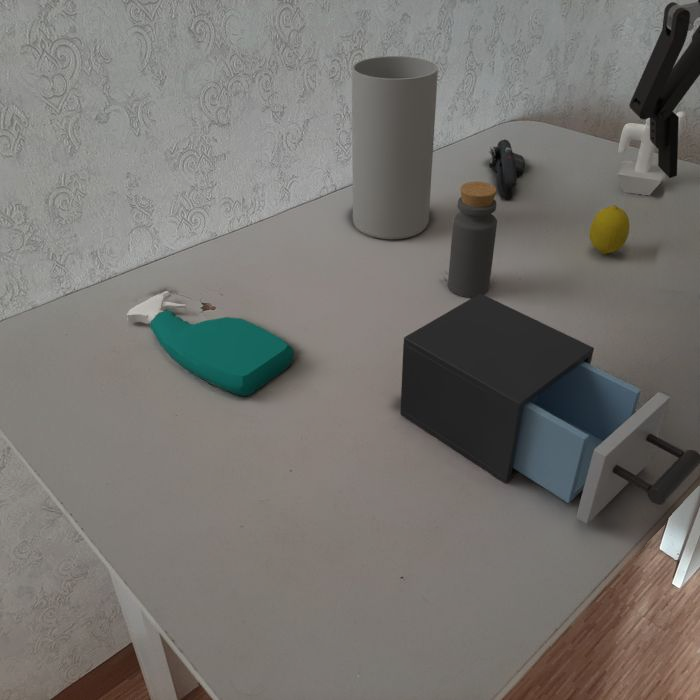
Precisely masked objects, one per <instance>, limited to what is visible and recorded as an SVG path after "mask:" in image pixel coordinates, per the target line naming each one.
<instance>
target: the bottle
mask: <svg viewBox="0 0 700 700" xmlns="http://www.w3.org/2000/svg"><path fill="white" fill-rule="evenodd" d="M459 189H460V197H459V198H458V200H457V205H456V206H457V209H458V211H459V212H457V214H455V215H454V217H453V220H452V221H453V222H452V231H451V241H450V242H451V243H450V256H449V266H448V279H447V287H448V290H449V291H450V292H451V293H453V294H455V295H457V296H459V297H464V298H473V297H475V296H476V295H478V294H483V295H485V294H487V293H488V291H489V288H490V282H491V276H492V268H493V260H494V252H495V244H496V235H497V226H498V220H497V218H496V216H495V215H494V213H495V212H496V210H497V204H498V203H497V200H496V199H495V197H496V195H497V191H498V189H497V188H496V186H494V184H491V183H489V182H484V181H469V182H466V183H463V184H462V185H461V186H460V188H459Z"/></svg>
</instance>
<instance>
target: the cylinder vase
mask: <svg viewBox="0 0 700 700" xmlns="http://www.w3.org/2000/svg"><path fill="white" fill-rule="evenodd" d="M438 73H439V66H438V65H437V63H435V62H433V61H430V60H428V59H424V58H420V57H413V56H404V55H386V56H385V55H384V56H375V57H369V58H364V59H361V60H359V61H356V62H354V63H353V64H352V65H351V144H352V145H351V146H352V147H351V148H352V151H351V152H352V153H351V154H352V155H351V156H352V163H351V164H352V171H351V172H352V222H353V225H354V227H355V228H356V229H357V230H358V231H359V232H360V233H362V234H364V235H366V236H368V237H371V238H376V239H379V240H380V239H381V240H402V239H407V238H412V237H414V236H416V235H419V234H421V233H422V232H423V231H424V230H425V229H426V228H427V227H428V225H429V220H430V206H431V205H430V203H431V189H432V175H433V174H432V173H433V172H432V171H433V157H434V155H433V154H434V138H435V123H436V107H437V93H438V92H437V91H438V90H437V89H438V76H439V74H438Z"/></svg>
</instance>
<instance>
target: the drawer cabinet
mask: <svg viewBox="0 0 700 700" xmlns="http://www.w3.org/2000/svg"><path fill="white" fill-rule="evenodd" d="M402 346H403V347H402V366H401V367H402V369H401V371H402V372H401V388H400V389H401V390H400V391H401V392H400V413H399V414H400V416H402V417H404V418H405V419H406V420H408V421H410V422H411V423H413V424H414V425H416V426H417V427H418V428H420V429H422V430H423V431H425V432H426V433H428V434H429V435H431V436H432V437H434V438H435V439H437V440H438V441H439V442H441V443H443V444H444V445H446V446H447V447H449V448H450V449H451V450H454V451H455V452H456V453H458V454H459V455H461V457H464V458H465V459H467V460H469V461H470V462H472V463H473V464H474V465H476V466H477V467H478V468H481V469H482V470H484V471H485V472H487V473H488V474H490V475H491V476H493V477H494V478H496V479H497V480H499V481H500V482H502V483H503V484H505V485H507V484H508V483H509V482H511V480H513V479H514V478H515V477H517V475H518V474H521V473H520V472H519V471H517V470H516V469H514V468H513V464H514V458H515V452H516V447H517V441H518V436H519V430H520V424H521V419H522V413H523V406H525V405H526V404H527V403H529V402H530V401H531V400H533V399H534V398H535V397H536V396H538V395H539V394H540V393H542V392H543V391H544V390H546V389H547V388H548V387H550V386H551V385H552V384H554V383H555V382H556V381H558V380H559V379H560V378H562V377H563V376H564V375H566V374H567V373H568V372H569V371H571V370H572V369H573V368H575V367H576V366H577V365H579V364H580V363H581V362H583V361H584V362H586V363H588V364H590V365H591V363H592V359H593V355H594V351H595V348H594V347H593V346H591V345H589V344H587V343H585V342H582V341H581V340H579V339H576V338H574V337H572V336H571V335H568V334H567V333H564V332H562V331H561V330H558V329H555V328H553V327H551V326H549V325H548V324H546V323H543V322H541V321H539V320H537V319H535V318H533V317H530V316H529V315H526V314H524V313H522V312H520V311H518V310H516V309H513V308H512V307H510V306H508V305H506V304H503V303H502V302H499V301H498V300H495V299H493V298H491V297H489V296H487V295H485V294H484V295H483V294H478V295H476V296H475V297H470V299H468V300H466V301H463V303H461V304H459V305H458V306H456V307H453V309H450V310H449V311H447V312H445V313H444V314H442V315H440V316H439V317H437V318H435V319H433V320H432V321H430V322H428V323H426V324H425V325H423V326H420V328H418V329H416V330H414V331H413V332H410V333H409V334H407V335H406V336H404V337H403V344H402Z"/></svg>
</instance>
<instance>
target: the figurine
mask: <svg viewBox="0 0 700 700" xmlns="http://www.w3.org/2000/svg"><path fill="white" fill-rule="evenodd" d="M675 114H676V115H677V116H678V117H679V123H678V141H680V138H681V135H682V131H683V128H684V125H685V120H686V116H687V115H686V113H685V111H681V110H680V111H677V112H676V113H675ZM631 141H636V142H637V141H639V142H640V145H639V149H638V153H637V158H636V161H631V160H625V159H623V160H622V163H621V165H620V168H619V171H618V174H617V175H618V180H619V182H620V186H621V190H622V193H625V194H631V193H633V195H638V194H642V195H641V196H645V195H649V196H650V195H652V193H653V192H654V191H655V190H656V188H657V187H658V186H659V185H660V184H661V183H662V181H663V178H664V174H665V173H664V172H663V171H662V169H661V168H660V167H659V166H658V164H654V163H652V161H653V158H654V153H655V150H656V146H655V145H654V144H653V143H652V142H651V140H650V118H648V119H645V123H644V124H643V123H635V122H634V123H633V122H628V123H626V124H624V126H623V127H622V131H621V135H620V139H619V144H618V148H617V151H618V154H619V155H625V154H627V153H628V150H629V147H630V143H631ZM634 193H635V194H634Z"/></svg>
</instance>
